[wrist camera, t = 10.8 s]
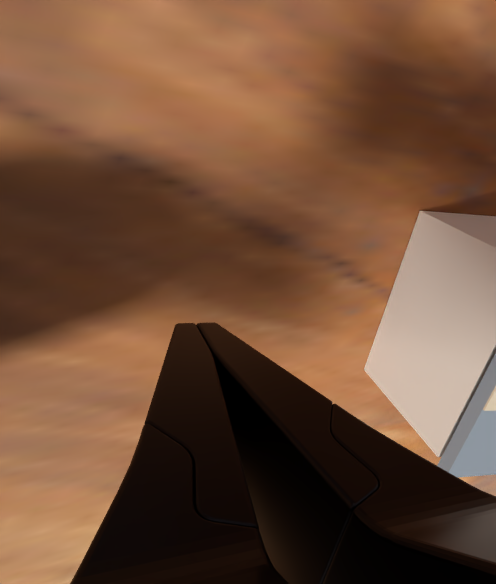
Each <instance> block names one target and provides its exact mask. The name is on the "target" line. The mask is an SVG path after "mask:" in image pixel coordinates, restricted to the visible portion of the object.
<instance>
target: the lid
mask: <svg viewBox="0 0 496 584" xmlns="http://www.w3.org/2000/svg"><path fill="white" fill-rule="evenodd" d="M437 466H438V467H440V468H442V469H443V470H445V471H447V472H449V473H450V474H452V475H454V476H456V477H469V476H482V475H495V474H496V353H495V355H494V357H493V359H492V361H491V363H490V365H489V367H488V369H487V371H486V372H485V374H484V376H483V378H482V380H481V382H480V384H479V386H478V388H477V390H476V392H475V394H474V396H473V398H472V400H471V401H470V403H469V405H468V407H467V409H466V411H465V413H464V415H463V417H462V419H461V421H460V423H459V425H458V427H457V428H456V430H455V432H454V434H453V436H452V438H451V440H450V442H449V444H448V446H447V448H446V450H445V452H444V454H443V456H442V457H441V459H440V461H439V463H438V465H437Z"/></svg>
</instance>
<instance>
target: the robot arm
mask: <svg viewBox="0 0 496 584" xmlns="http://www.w3.org/2000/svg"><path fill="white" fill-rule="evenodd" d="M70 584H496V496H493V495H491V494H488V493H486V492H483V491H481V490H479V489H477V488H475V487H473V486H471V485H470V484H468V483H466V482H464V481H463V480H461V479H459V478H457V477H456V476H454V475H452V474H450V473H449V472H447V471H445V470H443V469H442V468H440V467H438V466H436V465H435V464H433V463H431V462H429V461H428V460H426V459H424V458H422V457H421V456H419V455H417V454H415V453H414V452H412V451H410V450H408V449H407V448H405V447H403V446H401V445H400V444H398V443H396V442H395V441H393V440H391V439H390V438H388V437H386V436H385V435H383V434H381V433H380V432H378V431H376V430H375V429H373V428H371V427H370V426H368V425H367V424H365V423H364V422H362V421H361V420H359V419H358V418H356V417H354V416H353V415H351V414H350V413H348V412H347V411H345V410H344V409H342V408H341V407H340V406H338V405H337V404H333V405H332V401H330V400H329V399H328V398H326V397H325V396H323V395H322V394H320V393H319V392H317V391H316V390H314V389H313V388H311V387H310V386H308V385H307V384H305V383H304V382H302V381H301V380H299V379H298V378H297V377H295V376H294V375H292V374H291V373H289V372H288V371H286V370H285V369H283V368H282V367H280V366H279V365H277V364H276V363H274V362H273V361H271V360H270V359H269V358H267V357H266V356H264V355H263V354H261V353H260V352H258V351H257V350H255V349H254V348H252V347H251V346H249V345H248V344H246V343H245V342H243V341H242V340H240V339H239V338H238V337H236V336H235V335H233V334H232V333H230V332H229V331H227V330H226V329H224V328H223V327H221V326H220V325H218V324H217V323H198V324H197V325H196V324H194V323H179V324H176V325H175V328H174V331H173V334H172V337H171V340H170V344H169V347H168V350H167V353H166V356H165V360H164V363H163V366H162V369H161V372H160V376H159V379H158V382H157V385H156V388H155V392H154V395H153V398H152V401H151V405H150V408H149V411H148V414H147V417H146V421H145V425H144V426H143V429H142V432H141V436H140V439H139V442H138V445H137V447H136V450H135V453H134V456H133V458H132V461H131V464H130V466H129V468H128V470H127V473H126V475H125V477H124V479H123V481H122V484H121V486H120V488H119V490H118V492H117V494H116V496H115V498H114V500H113V502H112V504H111V506H110V508H109V510H108V512H107V514H106V516H105V518H104V520H103V522H102V523H101V525H100V527H99V529H98V531H97V533H96V535H95V537H94V539H93V541H92V543H91V545H90V547H89V549H88V551H87V553H86V555H85V557H84V559H83V561H82V563H81V565H80V567H79V568H78V570H77V572H76V574H75V576H74V578H73V579H72V581H71V583H70Z"/></svg>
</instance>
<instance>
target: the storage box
mask: <svg viewBox="0 0 496 584" xmlns="http://www.w3.org/2000/svg"><path fill="white" fill-rule="evenodd" d="M495 353H496V216H484V215H471V214H458V213H445V212H432V211H420V212H419V215H418V218H417V221H416V223H415V226H414V229H413V232H412V235H411V238H410V240H409V243H408V246H407V249H406V252H405V255H404V257H403V260H402V263H401V266H400V269H399V272H398V274H397V277H396V280H395V283H394V286H393V289H392V291H391V294H390V297H389V300H388V303H387V306H386V308H385V311H384V314H383V317H382V320H381V322H380V325H379V328H378V331H377V334H376V337H375V339H374V342H373V345H372V348H371V351H370V354H369V356H368V359H367V362H366V365H365V368H364V370H365V372H366V373H367V374H368V375H369V376H370V377H371V379H372V380H373V381H374V382H375V383H376V385H377V386H378V387H379V388H380V389H381V390H382V392H383V393H384V394H385V395H386V396H387V398H388V399H389V400H390V401H391V402H392V404H393V405H394V406H395V407H396V408H397V409H398V411H399V412H400V413H401V414H402V415H403V417H404V418H405V419H406V420H407V421H408V423H409V424H410V425H411V426H412V427H413V428H414V430H415V431H416V432H417V433H418V434H419V436H420V437H421V438H422V439H423V440H424V441H425V443H426V444H427V445H428V446H429V447H430V449H431V450H432V451H433V452H434V453H435V455H436V456H437V457H442V456H443V454H444V452H445V450H446V448H447V446H448V444H449V442H450V440H451V438H452V436H453V434H454V432H455V430H456V428H457V427H458V425H459V423H460V421H461V419H462V417H463V415H464V413H465V411H466V409H467V407H468V405H469V403H470V401H471V400H472V398H473V396H474V394H475V392H476V390H477V388H478V386H479V384H480V382H481V380H482V378H483V376H484V374H485V372H486V371H487V369H488V367H489V365H490V363H491V361H492V359H493V357H494V355H495Z"/></svg>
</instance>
